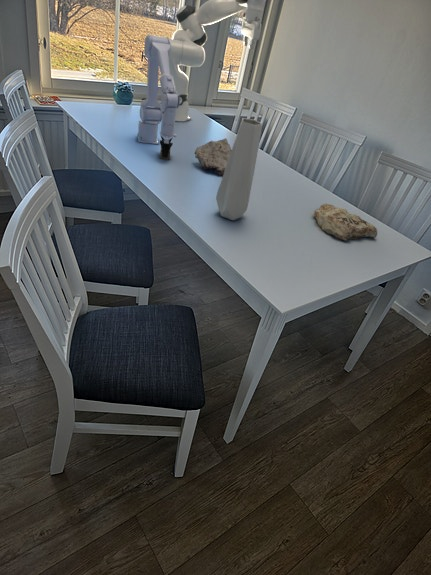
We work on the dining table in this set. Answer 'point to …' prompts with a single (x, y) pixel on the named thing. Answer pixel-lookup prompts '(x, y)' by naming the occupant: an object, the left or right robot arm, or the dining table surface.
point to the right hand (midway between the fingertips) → (247, 47)
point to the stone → (343, 223)
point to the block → (163, 157)
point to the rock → (214, 155)
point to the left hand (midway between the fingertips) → (165, 154)
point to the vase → (239, 171)
